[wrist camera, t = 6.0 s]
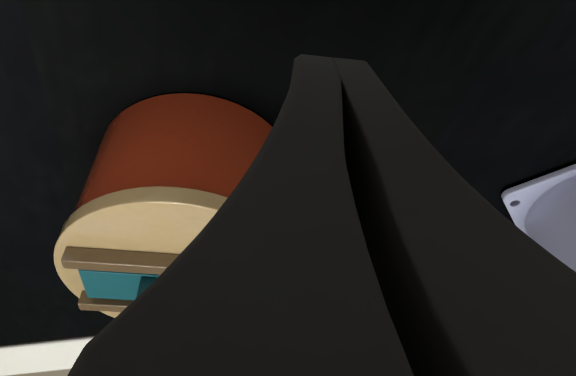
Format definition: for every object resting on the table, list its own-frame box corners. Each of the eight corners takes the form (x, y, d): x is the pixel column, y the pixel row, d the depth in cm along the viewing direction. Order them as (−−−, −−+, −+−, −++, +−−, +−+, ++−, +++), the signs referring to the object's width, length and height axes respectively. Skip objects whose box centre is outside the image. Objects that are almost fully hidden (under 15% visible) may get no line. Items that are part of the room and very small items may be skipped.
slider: (159, 267, 20) (148, 320, 18) (163, 294, 22) (152, 345, 20) (80, 262, 20) (61, 316, 18) (90, 289, 21) (73, 341, 20)
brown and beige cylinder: (310, 100, 22) (317, 229, 17) (283, 234, 30) (283, 351, 25) (79, 77, 21) (13, 206, 16) (112, 221, 29) (75, 340, 24)
